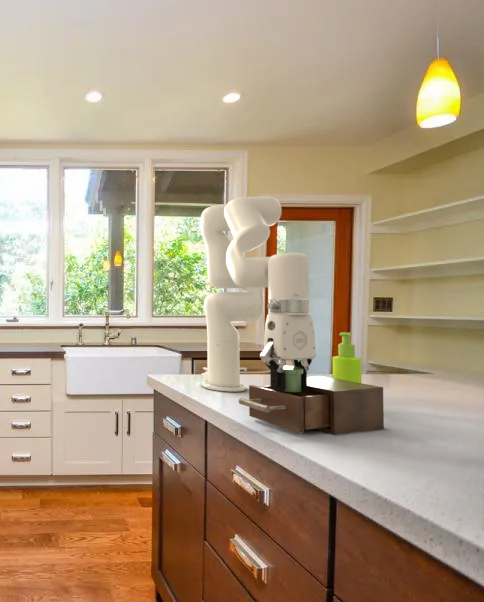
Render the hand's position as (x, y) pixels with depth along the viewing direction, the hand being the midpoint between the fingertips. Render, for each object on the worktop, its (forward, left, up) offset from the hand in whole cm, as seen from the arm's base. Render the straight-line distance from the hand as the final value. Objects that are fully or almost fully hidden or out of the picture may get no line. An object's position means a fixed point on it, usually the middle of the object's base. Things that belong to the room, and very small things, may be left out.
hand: (288, 387), depth 83 cm
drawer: (0, -1, -8) cm, 8 cm away
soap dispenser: (-8, +29, -9) cm, 31 cm away
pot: (0, 0, 0) cm, 0 cm away
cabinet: (0, +11, -9) cm, 14 cm away
